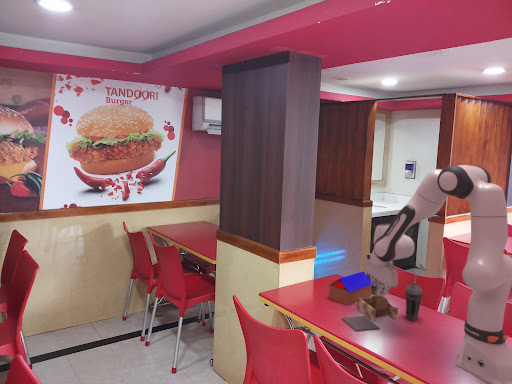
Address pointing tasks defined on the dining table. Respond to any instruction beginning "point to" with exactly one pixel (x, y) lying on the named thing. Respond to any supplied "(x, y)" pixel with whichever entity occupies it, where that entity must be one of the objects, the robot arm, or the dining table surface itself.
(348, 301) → the house
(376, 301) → the block
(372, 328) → the mat
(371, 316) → the wooden open frame
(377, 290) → the coffee box
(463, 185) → the robot arm
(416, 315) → the beverage cup
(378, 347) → the dining table surface
